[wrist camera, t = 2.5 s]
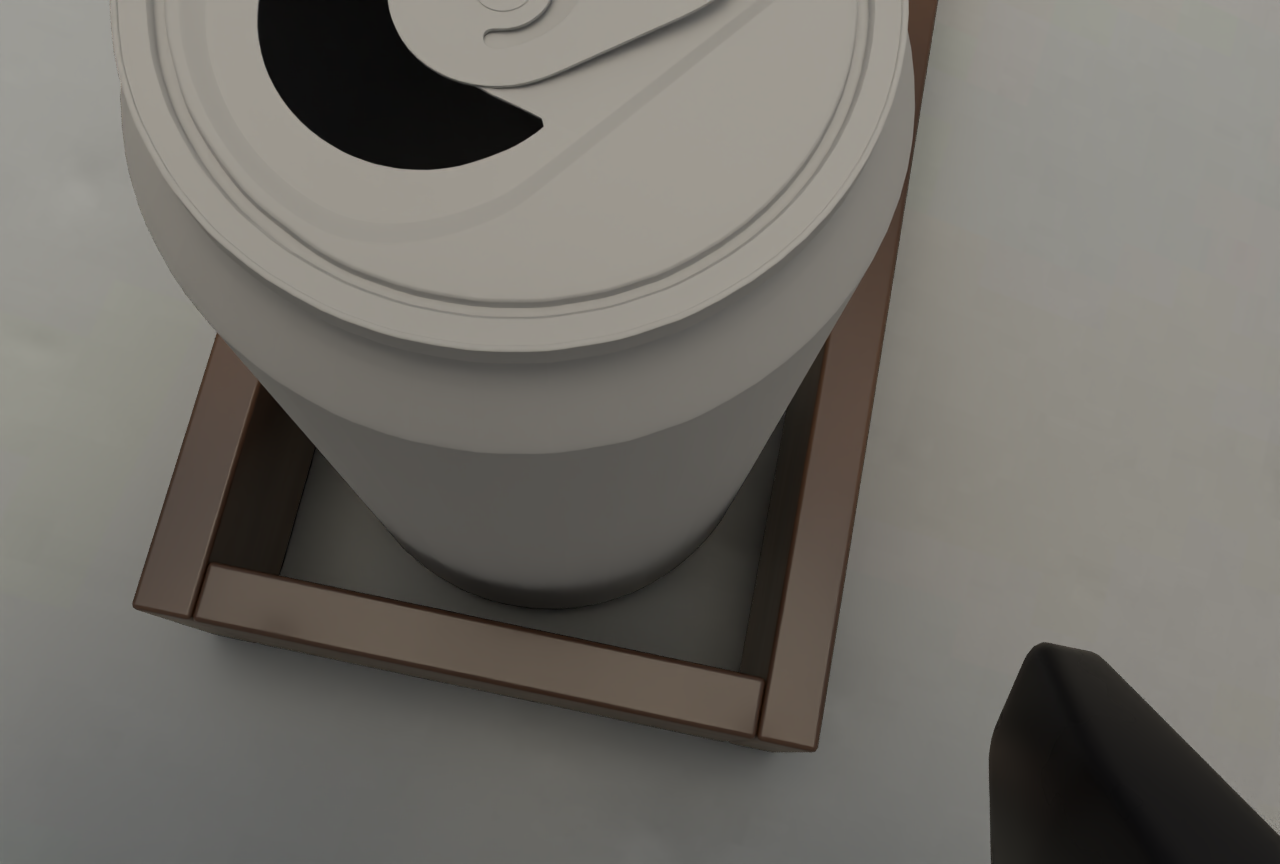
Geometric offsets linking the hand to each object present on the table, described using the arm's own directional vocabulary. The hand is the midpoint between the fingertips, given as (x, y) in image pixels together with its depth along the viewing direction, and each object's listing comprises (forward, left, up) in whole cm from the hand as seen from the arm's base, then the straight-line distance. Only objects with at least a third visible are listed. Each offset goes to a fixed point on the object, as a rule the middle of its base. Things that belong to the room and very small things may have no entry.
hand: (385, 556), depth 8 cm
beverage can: (+3, +3, -11) cm, 12 cm away
